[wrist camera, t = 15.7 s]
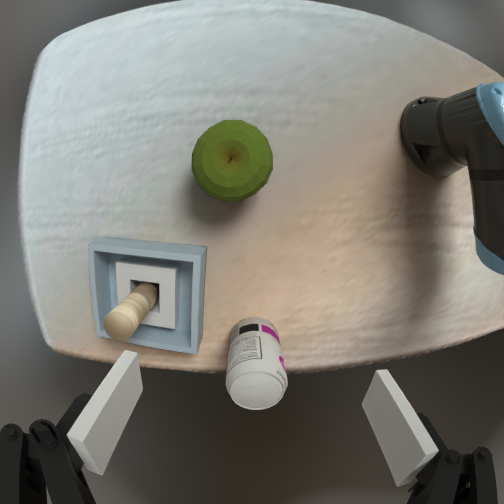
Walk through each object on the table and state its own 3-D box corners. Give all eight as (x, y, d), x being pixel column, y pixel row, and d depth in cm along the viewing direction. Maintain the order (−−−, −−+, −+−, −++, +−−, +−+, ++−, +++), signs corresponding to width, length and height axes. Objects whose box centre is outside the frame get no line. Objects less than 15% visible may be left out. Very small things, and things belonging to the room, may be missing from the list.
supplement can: (282, 319, 46) (296, 372, 31) (271, 357, 47) (279, 415, 33) (235, 311, 45) (231, 363, 30) (227, 350, 47) (221, 408, 32)
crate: (105, 236, 42) (88, 243, 36) (207, 246, 43) (200, 255, 37) (110, 320, 45) (96, 335, 39) (202, 335, 46) (197, 354, 40)
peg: (140, 276, 43) (101, 310, 29) (162, 279, 43) (130, 316, 29) (140, 298, 43) (105, 338, 30) (162, 301, 44) (132, 344, 30)
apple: (216, 121, 38) (208, 101, 29) (280, 146, 39) (290, 133, 30) (189, 185, 40) (172, 183, 31) (252, 210, 41) (254, 216, 32)
